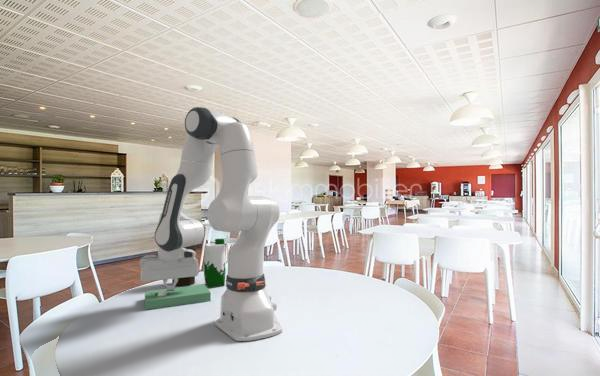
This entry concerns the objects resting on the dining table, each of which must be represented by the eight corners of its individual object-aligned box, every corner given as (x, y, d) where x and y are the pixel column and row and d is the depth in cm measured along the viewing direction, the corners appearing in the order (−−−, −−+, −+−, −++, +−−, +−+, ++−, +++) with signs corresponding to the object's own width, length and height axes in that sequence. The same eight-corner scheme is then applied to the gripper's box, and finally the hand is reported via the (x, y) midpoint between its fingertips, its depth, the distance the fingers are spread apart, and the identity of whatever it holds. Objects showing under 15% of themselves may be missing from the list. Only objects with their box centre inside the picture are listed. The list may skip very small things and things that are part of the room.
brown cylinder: (165, 285, 141) (166, 228, 142) (183, 279, 151) (183, 226, 152) (184, 288, 137) (184, 229, 138) (201, 282, 147) (201, 227, 148)
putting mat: (204, 291, 132) (204, 284, 132) (210, 300, 120) (210, 292, 120) (144, 299, 122) (144, 291, 122) (145, 309, 111) (145, 301, 111)
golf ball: (159, 304, 117) (169, 299, 119) (155, 296, 117) (165, 291, 118) (159, 301, 120) (168, 296, 122) (155, 293, 120) (164, 288, 121)
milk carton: (227, 286, 140) (227, 240, 141) (205, 288, 136) (205, 241, 137) (222, 281, 148) (223, 237, 149) (202, 283, 144) (202, 238, 145)
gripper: (139, 257, 113) (139, 296, 113) (199, 252, 122) (199, 289, 122) (139, 254, 119) (139, 292, 118) (197, 250, 128) (196, 285, 128)
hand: (170, 290), depth 120 cm, fingers closed
